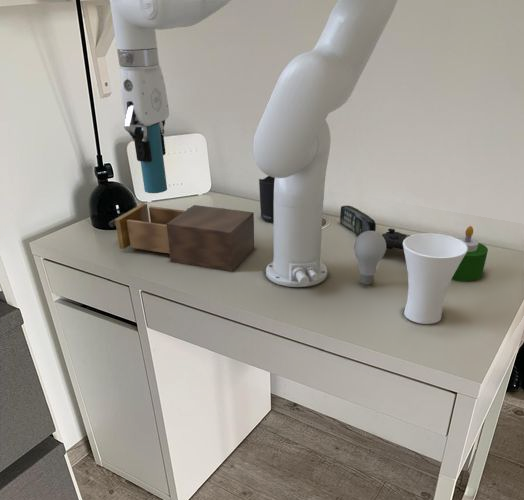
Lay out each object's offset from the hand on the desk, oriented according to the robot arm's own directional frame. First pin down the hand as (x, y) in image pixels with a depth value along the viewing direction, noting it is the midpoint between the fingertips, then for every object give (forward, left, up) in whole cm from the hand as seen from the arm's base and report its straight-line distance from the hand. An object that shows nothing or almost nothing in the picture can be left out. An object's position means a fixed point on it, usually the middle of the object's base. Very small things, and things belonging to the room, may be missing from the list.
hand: (151, 156), depth 114 cm
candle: (-29, -59, -20) cm, 69 cm away
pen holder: (+12, -31, -20) cm, 39 cm away
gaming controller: (-19, -50, -20) cm, 57 cm away
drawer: (+2, +2, -19) cm, 19 cm away
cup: (-43, -43, -20) cm, 64 cm away
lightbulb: (-29, -38, -20) cm, 52 cm away
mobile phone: (-3, -47, -20) cm, 51 cm away
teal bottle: (0, 0, -7) cm, 7 cm away
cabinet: (-7, -11, -20) cm, 24 cm away
